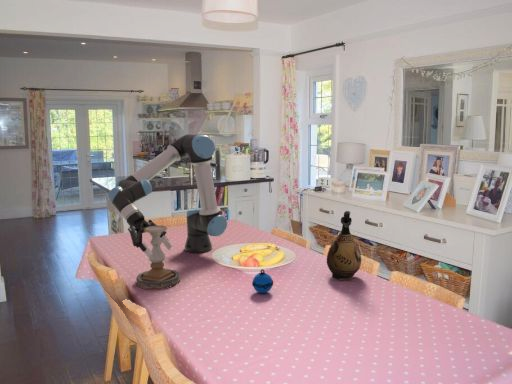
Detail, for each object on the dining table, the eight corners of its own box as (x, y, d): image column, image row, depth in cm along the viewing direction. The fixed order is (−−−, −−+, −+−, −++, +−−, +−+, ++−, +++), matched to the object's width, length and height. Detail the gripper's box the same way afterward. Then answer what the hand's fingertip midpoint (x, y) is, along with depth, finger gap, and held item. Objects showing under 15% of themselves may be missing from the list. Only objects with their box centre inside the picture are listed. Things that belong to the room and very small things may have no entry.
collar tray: (182, 274, 220) (181, 268, 219) (177, 288, 201) (176, 282, 201) (141, 275, 219) (140, 269, 219) (132, 290, 200) (132, 283, 200)
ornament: (255, 297, 190) (255, 273, 189) (250, 290, 198) (249, 267, 197) (275, 295, 192) (275, 271, 191) (269, 288, 201) (269, 265, 199)
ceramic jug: (361, 283, 204) (362, 216, 199) (325, 281, 207) (326, 215, 202) (360, 271, 220) (361, 208, 216) (327, 269, 223) (328, 207, 219)
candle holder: (140, 282, 208) (137, 229, 204) (156, 274, 217) (153, 224, 213) (160, 285, 203) (157, 231, 199) (175, 277, 212) (173, 226, 209)
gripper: (147, 216, 224) (173, 249, 219) (108, 227, 202) (137, 264, 198) (155, 205, 221) (182, 240, 216) (117, 215, 199) (146, 254, 194)
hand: (161, 252), depth 207 cm, fingers open, 13 cm apart
